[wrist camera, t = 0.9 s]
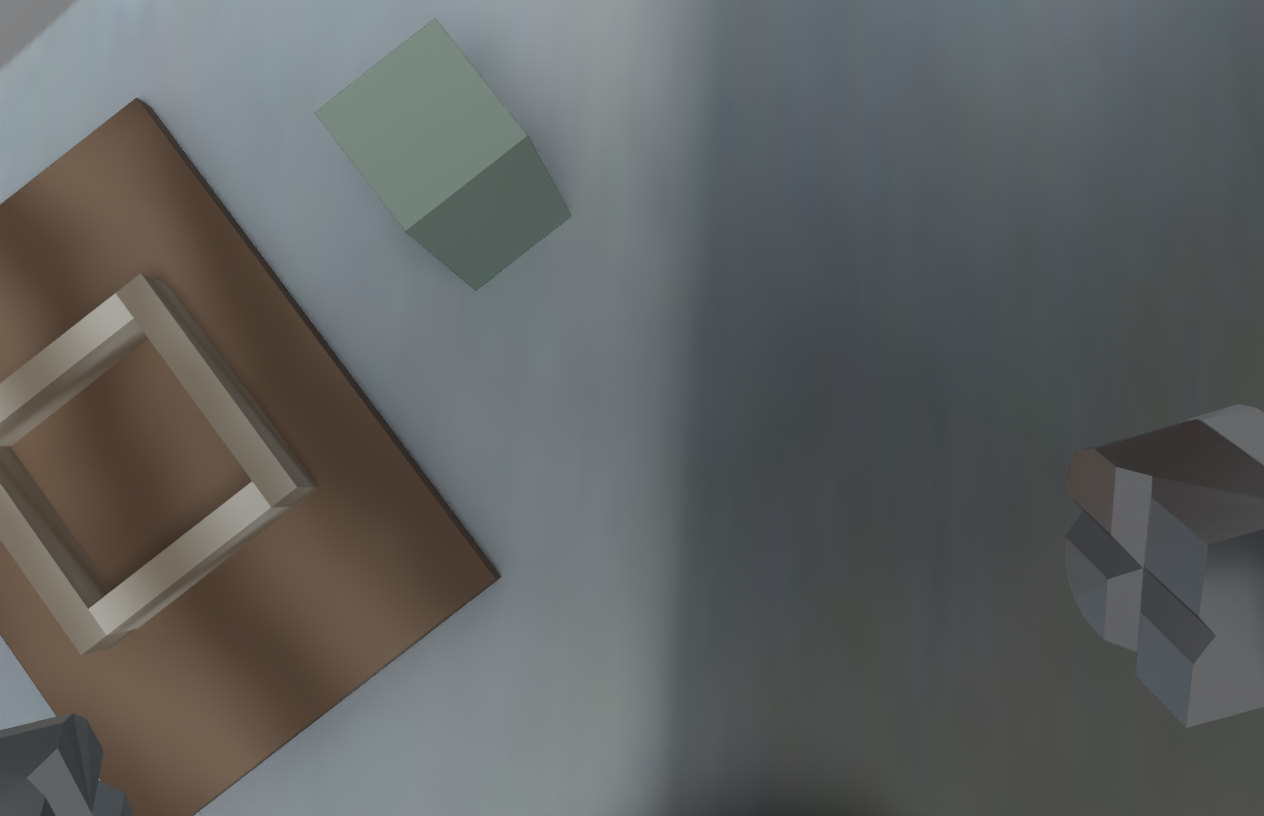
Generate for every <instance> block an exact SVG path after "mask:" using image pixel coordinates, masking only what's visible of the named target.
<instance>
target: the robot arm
mask: <svg viewBox="0 0 1264 816" xmlns="http://www.w3.org/2000/svg"><path fill="white" fill-rule="evenodd" d="M1067 493H1068V495H1069V496H1070V497H1071V498H1072V499H1073V500H1074V501H1075V502H1076V503H1077V504H1078V505H1079V507H1080V508H1081V509H1082V510H1083V511H1082V512H1081V514H1080V515H1079V517H1078V518H1077V520H1076V521H1075V523H1074V524H1073V526H1072V527H1071V529H1070V530H1069V531H1068V533H1067V534H1066V536H1065V570H1066V573H1067V577H1068V580H1069V584H1070V587H1071V590H1072V594H1073V597H1074V600H1075V601H1076V603H1077V605H1078V607H1079V608H1080V610H1081V612H1082V613H1083V615H1084V617H1085V619H1086V620H1087V621H1088V623H1089V624H1090V625H1091V626H1092V627H1093V628H1094V629H1095V630H1096V632H1097V633H1098V634H1099V635H1100V636H1101V637H1102V638H1103V639H1104V640H1106V641H1109V642H1111V643H1114V644H1117V645H1119V646H1122V647H1125V648H1127V649H1130V650H1133V651H1135V652H1137V656H1136V675H1137V676H1138V677H1139V678H1140V679H1141V680H1142V681H1143V682H1144V684H1145V685H1146V686H1147V687H1148V688H1149V689H1150V690H1151V691H1152V692H1153V693H1154V694H1155V695H1156V696H1157V697H1158V698H1159V700H1160V701H1161V702H1162V703H1163V704H1164V705H1165V706H1166V707H1167V708H1168V709H1169V710H1170V711H1171V712H1172V713H1173V714H1174V715H1175V717H1176V718H1177V719H1178V720H1179V721H1180V722H1181V723H1182V724H1183V725H1184V726H1185V727H1186V728H1188V727H1192V726H1195V725H1199V724H1203V723H1206V722H1210V721H1214V720H1217V719H1221V718H1225V717H1229V716H1232V715H1236V714H1240V713H1243V712H1247V711H1251V710H1254V709H1258V708H1262V707H1264V412H1262V411H1261V410H1259V409H1258V408H1254V407H1250V406H1244V405H1239V404H1237V405H1234V406H1231V407H1227V408H1224V409H1220V410H1217V411H1214V412H1210V413H1207V414H1203V415H1200V416H1197V417H1193V418H1190V419H1186V420H1185V421H1184V422H1183V423H1180V424H1176V425H1172V426H1168V427H1165V428H1161V429H1157V430H1153V431H1150V432H1146V433H1142V434H1138V435H1135V436H1131V437H1127V438H1123V439H1120V440H1116V441H1112V442H1108V443H1105V444H1101V445H1097V446H1093V447H1090V448H1086V449H1082V450H1078V451H1076V453H1075V455H1074V458H1073V460H1072V462H1071V464H1070V467H1069V475H1068V490H1067ZM103 753H104V750H103V748H102V746H101V744H100V743H99V741H98V739H97V737H96V735H95V733H94V731H93V730H92V728H91V726H90V724H89V722H88V720H87V719H86V718H84V717H82V716H79V715H77V714H75V713H70V714H66V715H62V716H58V717H54V718H50V719H45V720H41V721H37V722H33V723H29V724H25V725H20V726H16V727H12V728H8V729H4V730H0V816H135V815H134V812H133V810H132V808H131V806H130V804H129V802H128V800H127V797H126V795H125V793H123V792H121V791H119V790H117V789H115V788H113V787H111V786H109V785H107V784H105V783H103V782H101V781H99V780H98V779H99V774H100V769H101V763H102V758H103Z"/></svg>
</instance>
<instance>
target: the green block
mask: <svg viewBox="0 0 1264 816" xmlns="http://www.w3.org/2000/svg"><path fill="white" fill-rule="evenodd" d="M314 113H315V114H316V116H317V117H318V118H319V120H320V121H321V122H322V124H323V125H324V126H325V128H326V129H327V130H328V131H329V133H330V134H331V135H332V137H333V138H334V139H335V141H336V142H337V143H338V145H339V146H340V147H341V149H342V150H343V151H344V152H345V154H346V155H347V156H348V158H349V159H350V160H351V162H352V163H353V164H354V166H355V167H356V168H357V169H358V171H359V172H360V173H361V175H362V176H363V177H364V179H365V180H366V181H367V183H368V184H369V185H370V186H371V188H372V189H373V190H374V192H375V193H376V194H377V196H378V197H379V198H380V200H381V201H382V202H383V203H384V205H385V206H386V207H387V209H388V210H389V211H390V213H391V214H392V215H393V217H394V218H395V219H396V221H397V222H398V223H399V224H400V226H401V227H402V228H403V230H404V231H405V232H406V233H407V234H409V235H410V236H411V237H412V238H413V239H415V240H416V241H417V242H418V243H419V244H421V245H422V246H423V247H424V248H425V249H427V250H428V251H429V252H430V253H431V254H433V255H434V256H435V257H436V258H437V259H439V260H440V261H441V262H442V263H443V264H445V265H446V266H447V267H448V268H449V269H451V270H452V271H453V272H454V273H455V274H457V275H458V276H459V277H460V278H461V279H463V280H464V281H465V282H466V283H467V284H469V285H470V286H471V287H472V288H473V289H475V290H477V289H479V288H480V287H481V286H483V285H484V284H485V283H486V282H488V281H489V280H490V279H492V278H493V277H494V276H495V275H497V274H498V273H499V272H501V271H502V270H503V269H504V268H506V267H507V266H508V265H509V264H511V263H512V262H513V261H515V260H516V259H517V258H518V257H520V256H521V255H522V254H524V253H525V252H526V251H527V250H529V249H530V248H531V247H533V246H534V245H535V244H536V243H538V242H539V241H540V240H542V239H543V238H544V237H545V236H547V235H548V234H549V233H551V232H552V231H553V230H554V229H556V228H557V227H558V226H559V225H561V224H562V223H563V222H565V221H566V220H567V219H568V218H570V217H571V214H570V212H569V211H568V209H567V207H566V205H565V203H564V201H563V200H562V198H561V196H560V194H559V192H558V190H557V188H556V187H555V185H554V183H553V181H552V179H551V177H550V175H549V174H548V172H547V170H546V168H545V166H544V164H543V163H542V161H541V159H540V157H539V155H538V153H537V151H536V150H535V148H534V146H533V144H532V142H531V140H530V139H529V137H528V135H527V134H526V132H525V131H524V130H523V129H522V127H521V126H520V125H519V124H518V122H517V121H516V120H515V118H514V117H513V116H512V115H511V113H510V112H509V111H508V110H507V108H506V107H505V106H504V104H503V103H502V102H501V101H500V99H499V98H498V97H497V96H496V94H495V93H494V92H493V90H492V89H491V88H490V87H489V85H488V84H487V83H486V82H485V80H484V79H483V78H482V76H481V75H480V74H479V73H478V71H477V70H476V69H475V68H474V66H473V65H472V64H471V62H470V61H469V60H468V59H467V57H466V56H465V55H464V54H463V52H462V51H461V50H460V48H459V47H458V46H457V45H456V43H455V42H454V41H453V40H452V38H451V37H450V36H449V34H448V33H447V32H446V31H445V29H444V28H443V27H442V26H441V24H440V23H439V22H438V20H437V19H436V18H434V19H433V20H432V21H430V22H429V23H428V24H427V25H425V26H424V27H423V28H422V29H420V30H419V31H418V32H416V33H415V34H414V35H413V36H411V37H410V38H409V39H408V40H406V41H405V42H404V43H402V44H401V45H400V46H399V47H397V48H396V49H395V50H394V51H392V52H391V53H390V54H388V55H387V56H386V57H385V58H383V59H382V60H381V61H379V62H378V63H377V64H376V65H374V66H373V67H372V68H371V69H369V70H368V71H367V72H365V73H364V74H363V75H362V76H360V77H359V78H358V79H357V80H355V81H354V82H353V83H351V84H350V85H349V86H348V87H346V88H345V89H344V90H343V91H341V92H340V93H339V94H337V95H336V96H335V97H334V98H332V99H331V100H330V101H329V102H327V103H326V104H325V105H323V106H322V107H321V108H320V109H318V110H317V111H316V112H314Z"/></svg>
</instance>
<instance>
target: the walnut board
mask: <svg viewBox="0 0 1264 816" xmlns="http://www.w3.org/2000/svg"><path fill="white" fill-rule="evenodd" d="M499 578H501V576H500V575H499V573H498V572H497V571H496V569H495V568H494V567H493V565H492V564H491V563H490V561H489V560H488V559H487V557H486V556H485V555H484V553H483V552H482V551H481V549H480V548H479V547H478V545H477V544H476V543H475V541H474V540H473V539H472V537H471V536H470V535H469V533H468V532H467V531H466V529H465V528H464V526H463V525H462V524H461V522H460V521H459V520H458V518H457V517H456V516H455V514H454V513H453V512H452V510H451V509H450V508H449V506H448V505H447V504H446V502H445V501H444V500H443V498H442V497H441V496H440V494H439V493H438V492H437V490H436V489H435V488H434V486H433V485H432V484H431V482H430V481H429V480H428V478H427V477H426V476H425V474H424V473H423V472H422V470H421V469H420V468H419V466H418V465H417V463H416V462H415V461H414V459H413V458H412V457H411V455H410V454H409V453H408V451H407V450H406V449H405V447H404V446H403V445H402V443H401V442H400V441H399V439H398V438H397V437H396V435H395V434H394V433H393V431H392V430H391V429H390V427H389V426H388V425H387V423H386V422H385V421H384V419H383V418H382V417H381V415H380V414H379V413H378V411H377V410H376V409H375V407H374V406H373V405H372V403H371V402H370V400H369V399H368V398H367V396H366V395H365V394H364V392H363V391H362V390H361V388H360V387H359V386H358V384H357V383H356V382H355V380H354V379H353V378H352V376H351V375H350V374H349V372H348V371H347V370H346V368H345V367H344V366H343V364H342V363H341V362H340V360H339V359H338V358H337V356H336V355H335V354H334V352H333V351H332V350H331V348H330V347H329V346H328V344H327V343H326V342H325V340H324V339H323V337H322V336H321V335H320V333H319V332H318V331H317V329H316V328H315V327H314V325H313V324H312V323H311V321H310V320H309V319H308V317H307V316H306V315H305V313H304V312H303V311H302V309H301V308H300V307H299V305H298V304H297V303H296V301H295V300H294V299H293V297H292V296H291V295H290V293H289V292H288V291H287V289H286V288H285V287H284V285H283V284H282V283H281V281H280V280H279V279H278V277H277V276H276V274H275V273H274V272H273V270H272V269H271V268H270V266H269V265H268V264H267V262H266V261H265V260H264V258H263V257H262V256H261V254H260V253H259V252H258V250H257V249H256V248H255V246H254V245H253V244H252V242H251V241H250V240H249V238H248V237H247V236H246V234H245V233H244V232H243V230H242V229H241V228H240V226H239V225H238V224H237V222H236V221H235V220H234V218H233V217H232V216H231V214H230V213H229V211H228V210H227V209H226V207H225V206H224V205H223V203H222V202H221V201H220V199H219V198H218V197H217V195H216V194H215V193H214V191H213V190H212V189H211V187H210V186H209V185H208V183H207V182H206V181H205V179H204V178H203V177H202V175H201V174H200V173H199V171H198V170H197V169H196V167H195V166H194V165H193V163H192V162H191V161H190V159H189V158H188V157H187V155H186V154H185V153H184V151H183V150H182V148H181V147H180V146H179V144H178V143H177V142H176V140H175V139H174V138H173V136H172V135H171V134H170V132H169V131H168V130H167V128H166V127H165V126H164V124H163V123H162V122H161V120H160V119H159V118H158V116H157V115H156V114H155V112H154V111H153V110H152V108H151V107H150V106H148V105H147V104H145V103H144V102H142V101H141V100H139V99H138V98H135V99H134V100H133V101H132V102H130V103H129V104H128V105H127V106H125V107H124V108H123V109H121V110H120V111H119V112H118V113H116V114H115V115H114V116H113V117H111V118H110V119H109V120H107V121H106V122H105V123H104V124H102V125H101V126H100V127H99V128H97V129H96V130H95V131H93V132H92V133H91V134H90V135H88V136H87V137H86V138H85V139H83V140H82V141H81V142H79V143H78V144H77V145H76V146H74V147H73V148H72V149H71V150H69V151H68V152H67V153H66V154H64V155H63V156H62V157H60V158H59V159H58V160H57V161H55V162H54V163H53V164H52V165H50V166H49V167H48V168H46V169H45V170H44V171H43V172H41V173H40V174H39V175H38V176H36V177H35V178H34V179H32V180H31V181H30V182H29V183H27V184H26V185H25V186H24V187H22V188H21V189H20V190H18V191H17V192H16V193H15V194H13V195H12V196H11V197H10V198H8V199H7V200H6V201H4V202H3V203H2V204H1V205H0V635H1V636H2V638H3V639H4V641H5V642H6V644H7V645H8V646H9V648H10V649H11V651H12V652H13V654H14V655H15V657H16V658H17V660H18V661H19V662H20V664H21V665H22V667H23V668H24V670H25V671H26V673H27V674H28V676H29V677H30V678H31V680H32V681H33V683H34V684H35V686H36V687H37V689H38V690H39V692H40V693H41V694H42V696H43V697H44V699H45V700H46V702H47V703H48V705H49V706H50V707H51V709H52V710H53V712H54V713H55V715H56V716H57V717H58V716H62V715H66V714H70V713H75V714H77V715H79V716H82V717H84V718H86V719H87V720H88V722H89V724H90V726H91V728H92V730H93V731H94V733H95V735H96V737H97V739H98V741H99V743H100V744H101V746H102V748H103V750H104V753H103V758H102V763H101V769H100V774H99V779H100V780H101V782H103V783H105V784H107V785H109V786H111V787H113V788H115V789H117V790H119V791H121V792H123V793H125V795H126V797H127V800H128V802H129V804H130V806H131V808H132V810H133V812H134V815H135V816H193V815H195V814H196V813H197V812H199V811H200V810H201V809H203V808H204V807H205V806H206V805H208V804H209V803H210V802H212V801H213V800H214V799H215V798H217V797H218V796H219V795H221V794H222V793H223V792H224V791H226V790H227V789H228V788H230V787H231V786H232V785H233V784H235V783H236V782H237V781H239V780H240V779H241V778H242V777H244V776H245V775H246V774H248V773H249V772H250V771H252V770H253V769H254V768H255V767H257V766H258V765H259V764H261V763H262V762H263V761H264V760H266V759H267V758H268V757H270V756H271V755H272V754H273V753H275V752H276V751H277V750H279V749H280V748H281V747H282V746H284V745H285V744H286V743H288V742H289V741H290V740H292V739H293V738H294V737H295V736H297V735H298V734H299V733H301V732H302V731H303V730H304V729H306V728H307V727H308V726H310V725H311V724H312V723H313V722H315V721H316V720H317V719H319V718H320V717H321V716H322V715H324V714H325V713H326V712H328V711H329V710H330V709H332V708H333V707H334V706H335V705H337V704H338V703H339V702H341V701H342V700H343V699H344V698H346V697H347V696H348V695H350V694H351V693H352V692H353V691H355V690H356V689H357V688H359V687H360V686H361V685H362V684H364V683H365V682H366V681H368V680H369V679H370V678H371V677H373V676H374V675H375V674H377V673H378V672H379V671H381V670H382V669H383V668H384V667H386V666H387V665H388V664H390V663H391V662H392V661H393V660H395V659H396V658H397V657H399V656H400V655H401V654H402V653H404V652H405V651H406V650H408V649H409V648H410V647H411V646H413V645H414V644H415V643H417V642H418V641H419V640H421V639H422V638H423V637H424V636H426V635H427V634H428V633H430V632H431V631H432V630H433V629H435V628H436V627H437V626H439V625H440V624H441V623H442V622H444V621H445V620H446V619H448V618H449V617H450V616H451V615H453V614H454V613H455V612H457V611H458V610H459V609H461V608H462V607H463V606H464V605H466V604H467V603H468V602H470V601H471V600H472V599H473V598H475V597H476V596H477V595H479V594H480V593H481V592H482V591H484V590H485V589H486V588H488V587H489V586H490V585H491V584H493V583H494V582H495V581H497V580H498V579H499Z"/></svg>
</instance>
